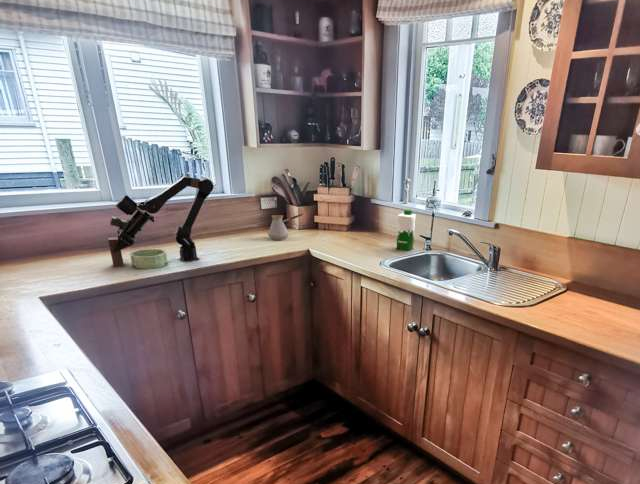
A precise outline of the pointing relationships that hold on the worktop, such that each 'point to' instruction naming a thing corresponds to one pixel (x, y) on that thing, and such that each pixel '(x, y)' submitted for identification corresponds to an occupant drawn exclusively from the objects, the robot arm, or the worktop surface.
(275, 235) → the coffee pot
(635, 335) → the worktop surface
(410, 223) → the milk carton
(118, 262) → the brown wooden block
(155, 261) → the bowl
